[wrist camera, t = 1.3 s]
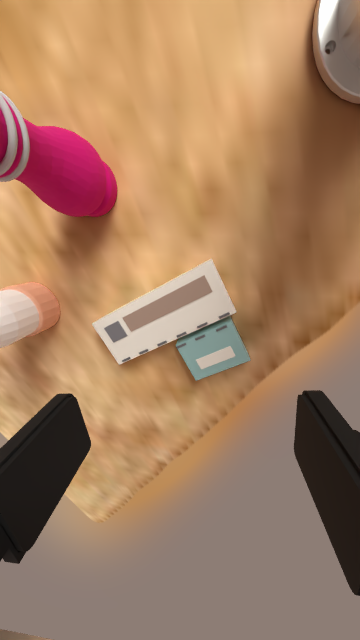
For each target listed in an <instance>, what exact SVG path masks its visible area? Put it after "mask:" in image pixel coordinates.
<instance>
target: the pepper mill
mask: <svg viewBox="0 0 360 640" xmlns="http://www.w3.org/2000/svg"><path fill="white" fill-rule="evenodd" d="M13 179H16V180H18V181H21V182H22V183H24V184H25V185H26V186H27V187H28V188H30V189H31V190H32V191H33V192H34V193H35V194H36V195H37V196H38V197H39V198H40V199H41V200H42V201H43V202H45V203H46V204H47V205H49V206H50V207H51V208H53V209H55V210H56V211H58V212H61V213H63V214H66V215H69V216H75V217H81V216H86V215H88V216H91V217H98V216H102V215H104V214H106V213H107V212H109V211H110V209H111V208H112V207H113V205H114V203H115V200H116V196H117V184H116V180H115V177H114V174H113V172H112V171H111V169H110V168H109V166H108V165H107V164H106V163H104V162H103V161H102V160H101V158H100V156H99V154H98V153H97V152H96V150H95V149H94V148H93V146H92V145H91V144H90V143H89V142H88V141H86V140H85V139H83V138H82V137H80V136H79V135H77V134H76V133H74V132H72V131H69V130H66V129H63V128H59V127H55V126H41V127H40V126H35V125H34V124H32V123H30V122H29V121H27V120H26V119H24V118H23V117H22V115H21V114H20V112H19V110H18V109H17V107H16V106H15V104H14V103H13V102H12V101H11V100H10V99H9V98H8V97H7V96H6V95H5V94H4V93H2V92H1V91H0V182H6V181H11V180H13Z"/></svg>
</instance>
